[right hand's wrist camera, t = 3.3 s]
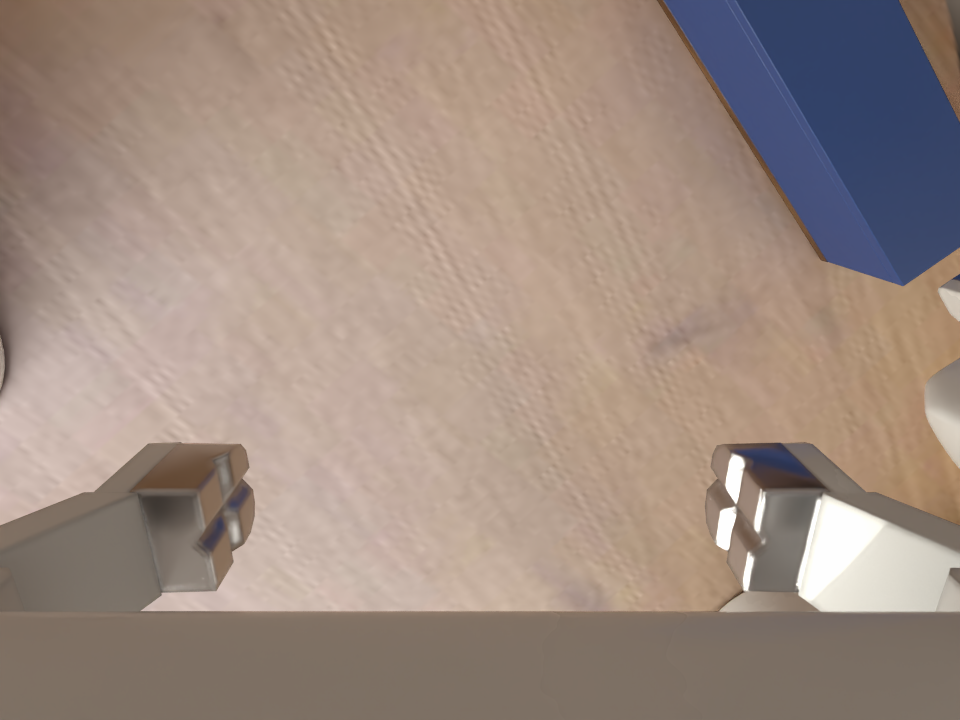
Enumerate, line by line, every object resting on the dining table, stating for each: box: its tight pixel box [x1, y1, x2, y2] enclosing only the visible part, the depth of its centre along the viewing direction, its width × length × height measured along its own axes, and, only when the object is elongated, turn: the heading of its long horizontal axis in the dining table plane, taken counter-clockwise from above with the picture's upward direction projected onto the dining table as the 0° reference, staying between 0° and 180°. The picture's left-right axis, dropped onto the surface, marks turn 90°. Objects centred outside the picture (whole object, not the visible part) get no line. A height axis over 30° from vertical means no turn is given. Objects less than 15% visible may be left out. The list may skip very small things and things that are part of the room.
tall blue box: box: [657, 0, 960, 286], centre depth 31 cm, size 19×6×8 cm, turn 40°
